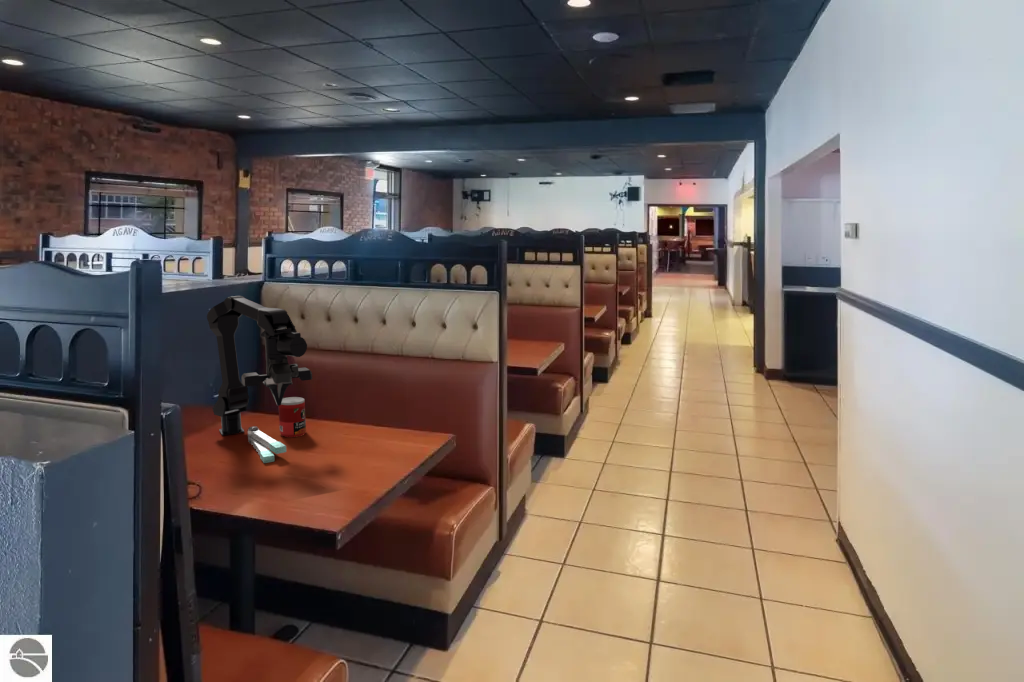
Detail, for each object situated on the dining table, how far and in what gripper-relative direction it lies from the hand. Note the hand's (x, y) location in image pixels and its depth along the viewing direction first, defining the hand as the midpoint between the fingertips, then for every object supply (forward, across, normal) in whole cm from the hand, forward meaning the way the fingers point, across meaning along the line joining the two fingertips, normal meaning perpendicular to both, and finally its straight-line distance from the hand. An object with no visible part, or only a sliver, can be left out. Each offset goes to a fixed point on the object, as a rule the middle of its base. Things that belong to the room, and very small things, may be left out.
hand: (278, 405), depth 188 cm
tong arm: (+10, -4, -2) cm, 11 cm away
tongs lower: (+12, -6, -2) cm, 14 cm away
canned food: (+13, +6, +10) cm, 17 cm away
